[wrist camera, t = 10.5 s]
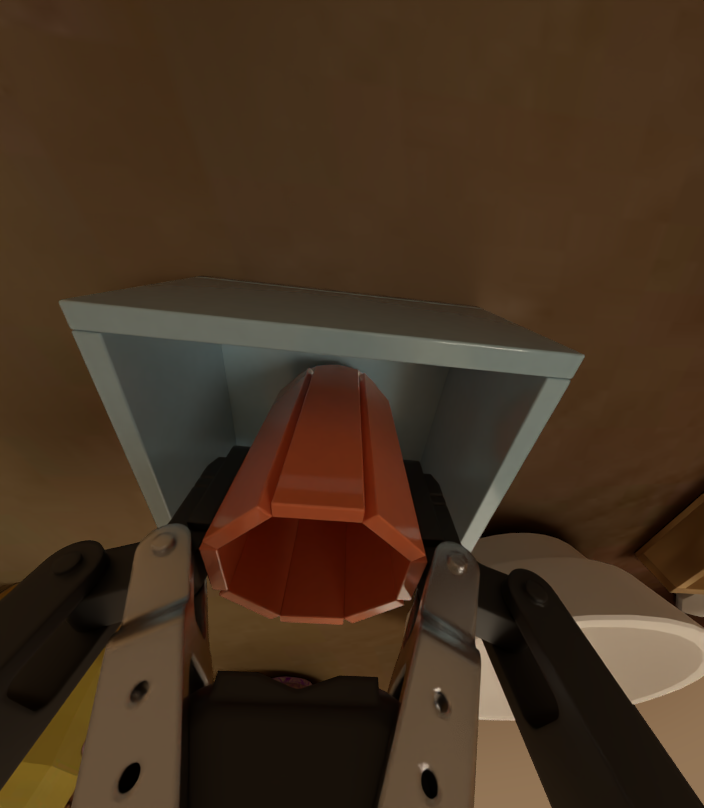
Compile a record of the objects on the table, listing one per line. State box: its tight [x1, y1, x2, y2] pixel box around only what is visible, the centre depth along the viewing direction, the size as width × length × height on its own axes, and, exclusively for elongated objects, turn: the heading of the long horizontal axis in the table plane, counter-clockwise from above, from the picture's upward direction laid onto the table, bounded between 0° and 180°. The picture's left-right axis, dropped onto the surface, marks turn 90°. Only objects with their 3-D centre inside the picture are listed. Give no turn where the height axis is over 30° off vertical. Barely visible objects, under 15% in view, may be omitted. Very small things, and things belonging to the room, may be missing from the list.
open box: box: [59, 276, 584, 552], centre depth 14 cm, size 13×15×8 cm
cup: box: [199, 364, 428, 625], centre depth 11 cm, size 6×6×9 cm
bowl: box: [404, 533, 704, 720], centre depth 24 cm, size 22×22×8 cm
